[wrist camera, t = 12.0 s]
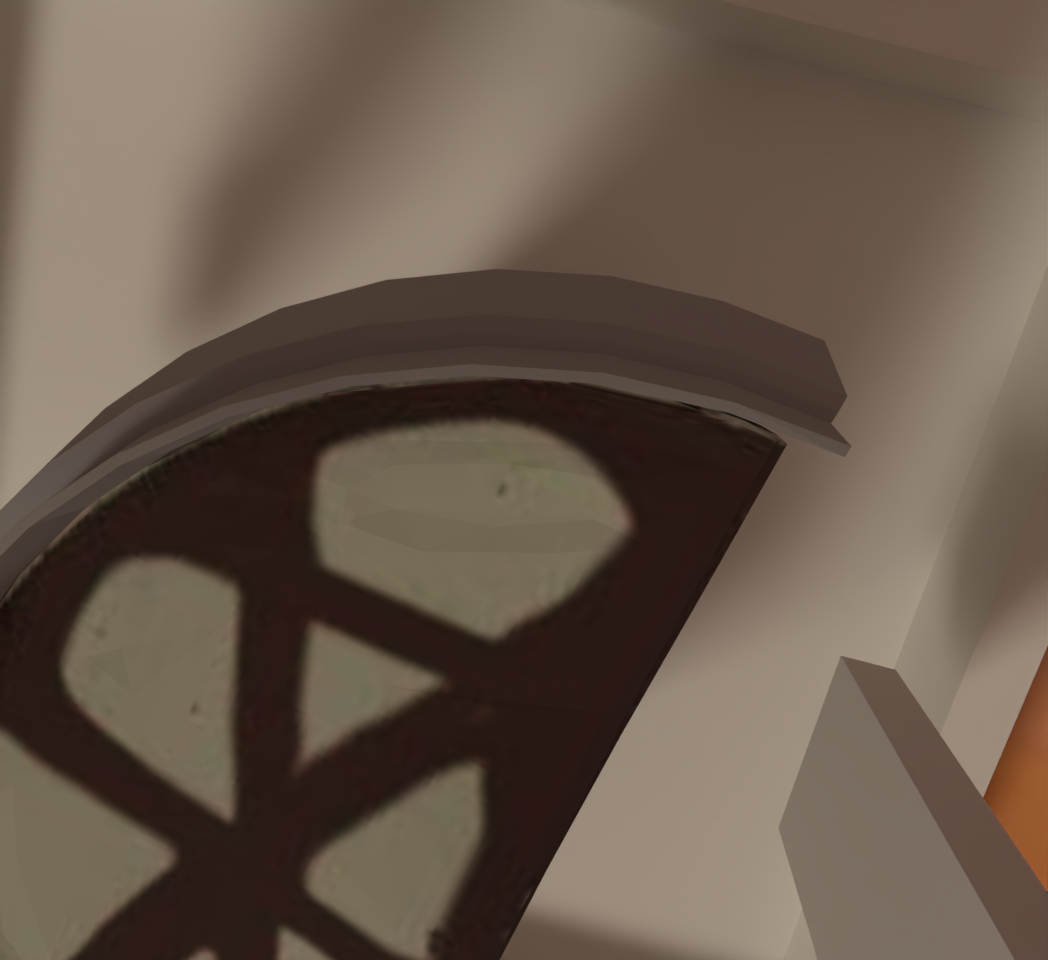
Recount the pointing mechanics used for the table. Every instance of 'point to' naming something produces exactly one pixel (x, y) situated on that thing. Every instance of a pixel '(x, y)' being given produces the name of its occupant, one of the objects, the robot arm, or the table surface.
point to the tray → (625, 252)
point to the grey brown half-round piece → (367, 609)
